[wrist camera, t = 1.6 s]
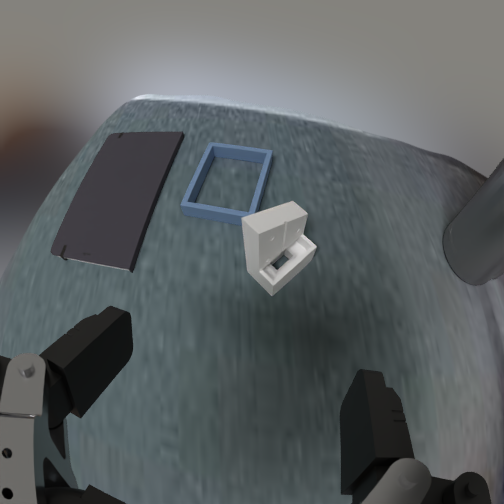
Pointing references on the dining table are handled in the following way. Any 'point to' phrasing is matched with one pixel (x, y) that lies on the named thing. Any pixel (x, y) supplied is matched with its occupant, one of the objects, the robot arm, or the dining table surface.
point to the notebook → (117, 199)
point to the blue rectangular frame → (191, 194)
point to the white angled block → (276, 244)
